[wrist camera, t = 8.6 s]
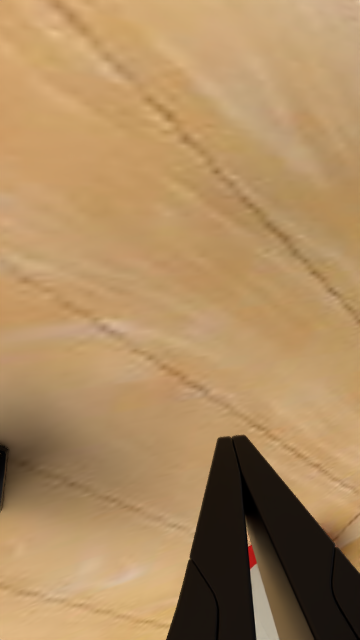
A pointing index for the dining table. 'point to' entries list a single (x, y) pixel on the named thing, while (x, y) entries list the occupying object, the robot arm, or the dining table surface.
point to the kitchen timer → (261, 603)
